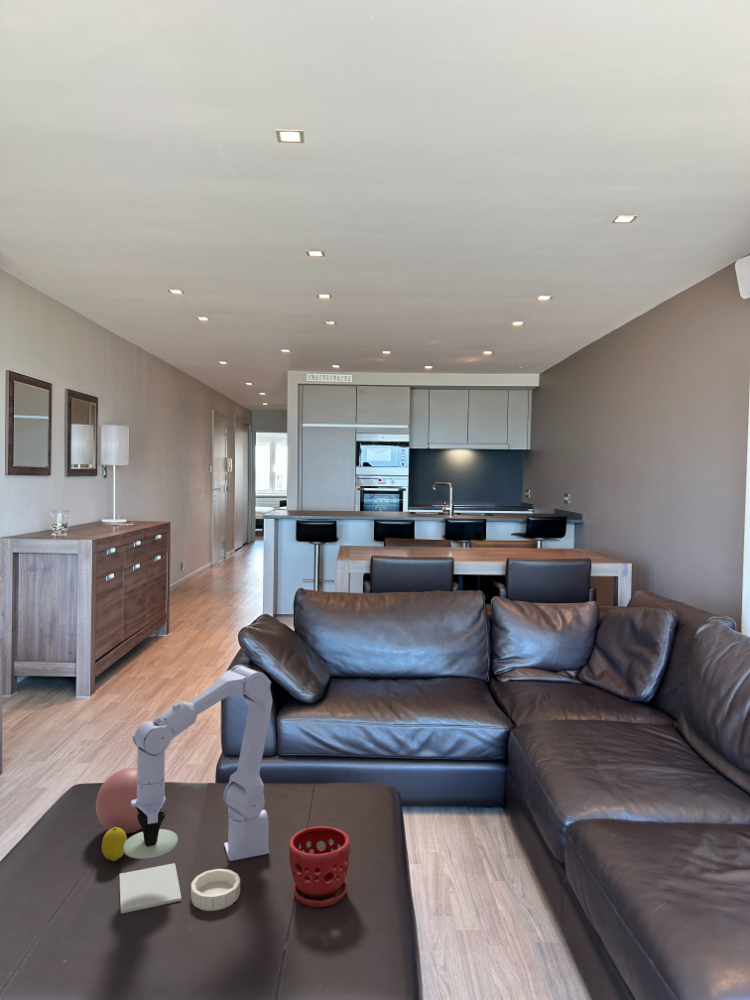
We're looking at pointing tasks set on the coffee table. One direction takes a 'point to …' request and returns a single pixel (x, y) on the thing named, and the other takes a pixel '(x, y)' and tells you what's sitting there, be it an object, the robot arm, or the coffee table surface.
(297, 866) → the plant pot
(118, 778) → the balloon
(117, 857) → the lemon
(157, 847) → the lid
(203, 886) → the dish
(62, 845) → the coffee table surface
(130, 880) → the mat
